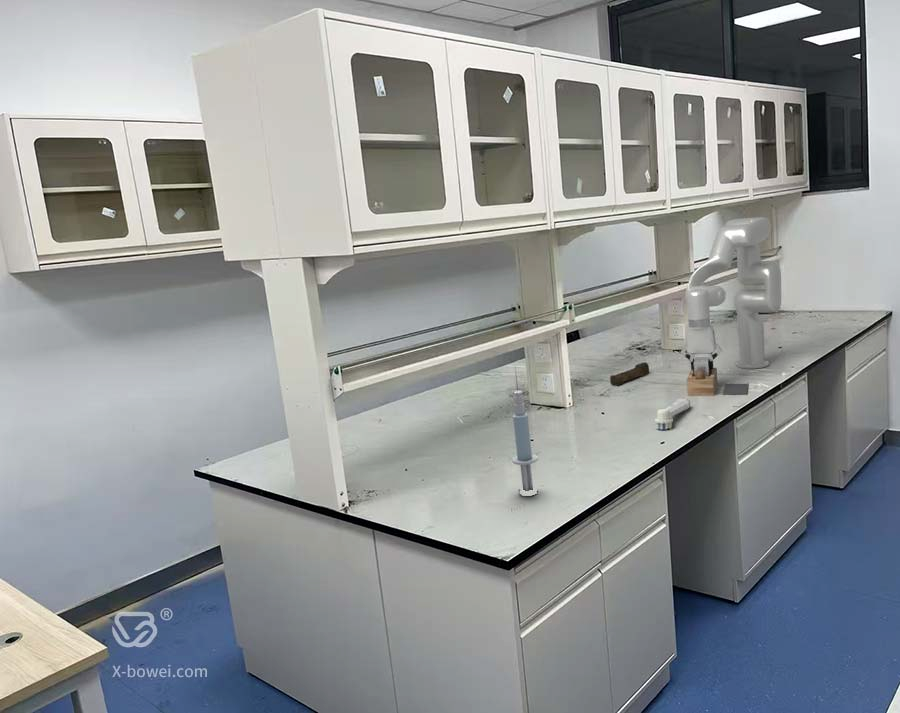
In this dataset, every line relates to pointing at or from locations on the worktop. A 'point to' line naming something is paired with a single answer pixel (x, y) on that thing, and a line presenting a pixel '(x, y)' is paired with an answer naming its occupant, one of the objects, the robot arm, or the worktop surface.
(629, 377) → the hand tool
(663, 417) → the electric toothbrush
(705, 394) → the body
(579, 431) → the worktop surface
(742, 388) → the rubber mat
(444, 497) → the worktop surface
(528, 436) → the syringe
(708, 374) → the silver block
